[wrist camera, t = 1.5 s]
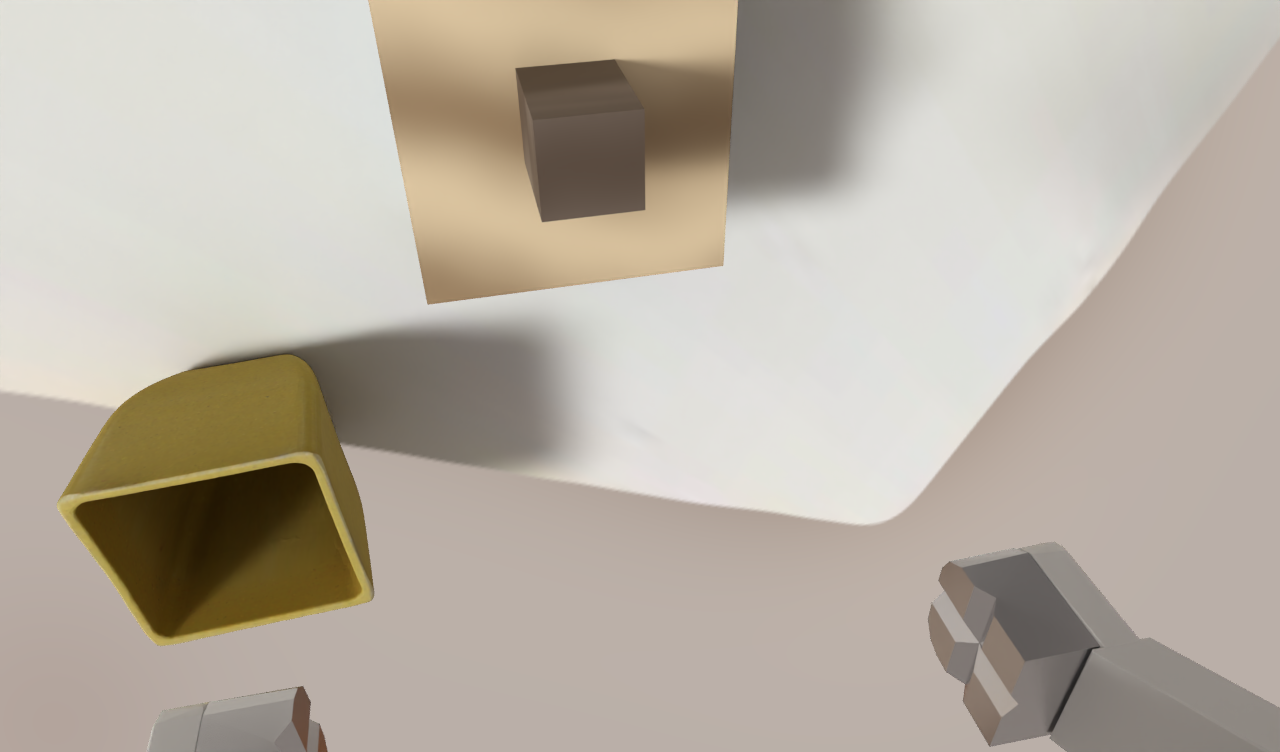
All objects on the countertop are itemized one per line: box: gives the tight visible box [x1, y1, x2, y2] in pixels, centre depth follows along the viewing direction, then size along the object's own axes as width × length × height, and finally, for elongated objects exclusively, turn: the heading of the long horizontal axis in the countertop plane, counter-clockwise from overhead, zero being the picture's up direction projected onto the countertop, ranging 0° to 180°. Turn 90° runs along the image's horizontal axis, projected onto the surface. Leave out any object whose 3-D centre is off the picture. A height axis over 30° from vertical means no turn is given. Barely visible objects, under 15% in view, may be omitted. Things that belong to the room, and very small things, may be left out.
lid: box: [368, 0, 738, 304], centre depth 26 cm, size 13×11×6 cm
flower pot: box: [57, 354, 374, 646], centre depth 36 cm, size 9×9×9 cm
